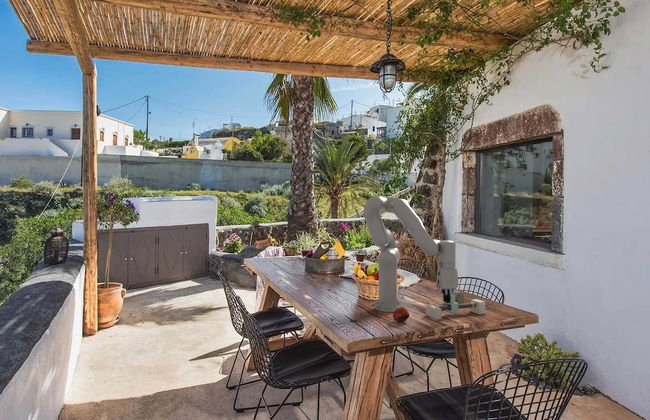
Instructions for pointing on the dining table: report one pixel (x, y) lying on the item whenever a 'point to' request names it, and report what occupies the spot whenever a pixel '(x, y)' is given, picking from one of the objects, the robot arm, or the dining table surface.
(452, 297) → the sleeve
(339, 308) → the dining table surface
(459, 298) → the ceramic mug
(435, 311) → the rail
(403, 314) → the pomegranate
